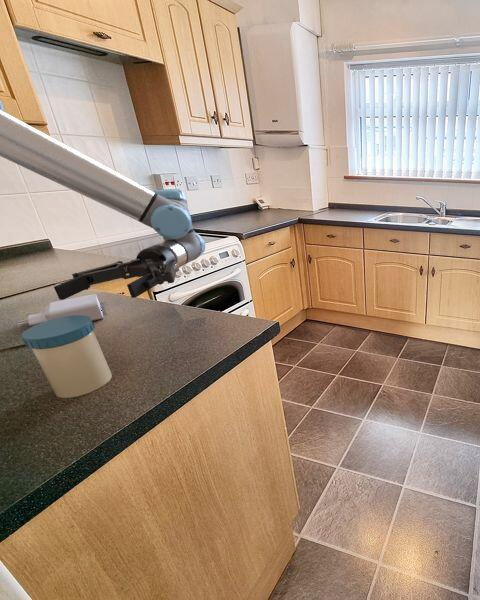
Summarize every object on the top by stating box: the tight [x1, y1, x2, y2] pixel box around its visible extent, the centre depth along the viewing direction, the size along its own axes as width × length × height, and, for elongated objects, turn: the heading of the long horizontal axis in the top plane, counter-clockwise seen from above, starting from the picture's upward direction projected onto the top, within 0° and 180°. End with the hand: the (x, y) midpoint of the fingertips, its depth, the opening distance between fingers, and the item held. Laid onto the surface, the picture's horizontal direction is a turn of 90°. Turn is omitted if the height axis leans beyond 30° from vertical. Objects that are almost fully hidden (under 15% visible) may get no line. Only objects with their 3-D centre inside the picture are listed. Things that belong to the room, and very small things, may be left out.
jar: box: [30, 330, 113, 399], centre depth 60 cm, size 8×8×12 cm
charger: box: [16, 293, 104, 328], centre depth 83 cm, size 5×9×15 cm
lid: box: [21, 315, 96, 349], centre depth 57 cm, size 9×9×2 cm
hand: (94, 292), depth 65 cm, fingers open, 13 cm apart
